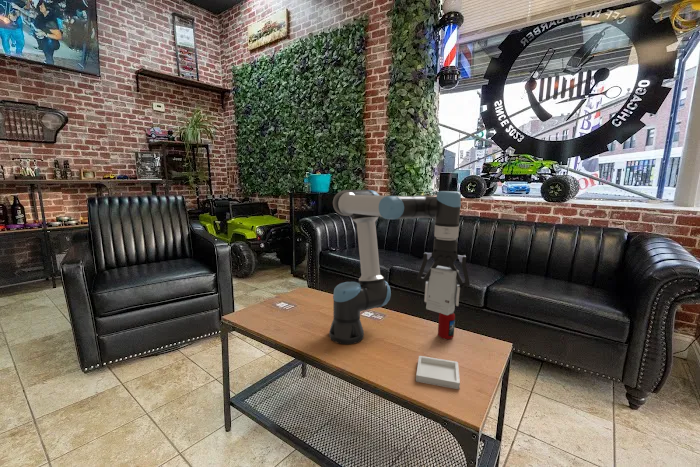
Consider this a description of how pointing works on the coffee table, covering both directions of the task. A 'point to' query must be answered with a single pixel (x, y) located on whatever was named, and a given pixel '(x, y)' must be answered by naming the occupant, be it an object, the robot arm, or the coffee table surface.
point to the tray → (438, 372)
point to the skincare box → (442, 290)
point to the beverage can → (446, 325)
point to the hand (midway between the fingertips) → (441, 302)
